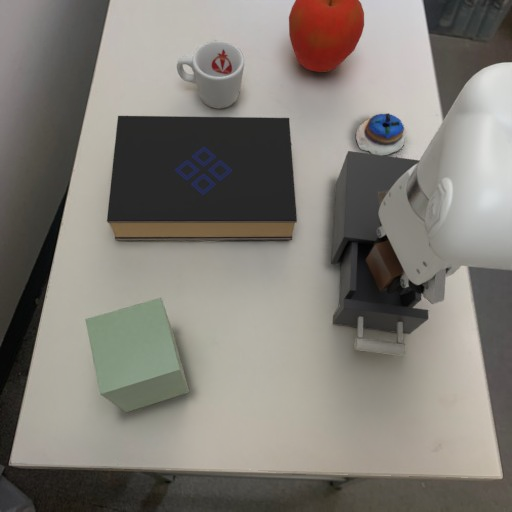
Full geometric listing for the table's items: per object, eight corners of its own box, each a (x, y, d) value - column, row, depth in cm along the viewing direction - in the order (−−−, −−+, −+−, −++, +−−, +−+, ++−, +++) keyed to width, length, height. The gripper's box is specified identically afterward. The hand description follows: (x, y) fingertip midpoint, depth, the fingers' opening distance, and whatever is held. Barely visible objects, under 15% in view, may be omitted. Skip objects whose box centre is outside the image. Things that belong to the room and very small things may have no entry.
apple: (292, 31, 90) (303, -44, 77) (356, 46, 89) (378, -27, 76) (275, 79, 84) (284, 8, 72) (343, 97, 84) (364, 27, 71)
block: (412, 281, 61) (426, 267, 57) (379, 291, 60) (391, 277, 56) (397, 250, 62) (409, 234, 58) (365, 259, 62) (375, 243, 58)
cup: (172, 105, 81) (167, 68, 74) (186, 70, 84) (182, 31, 77) (236, 119, 80) (237, 83, 73) (247, 83, 84) (249, 45, 76)
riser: (189, 392, 62) (180, 369, 49) (126, 412, 61) (100, 394, 48) (173, 333, 65) (161, 297, 52) (113, 351, 64) (85, 318, 51)
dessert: (402, 115, 82) (412, 111, 76) (399, 155, 83) (409, 155, 77) (354, 115, 82) (360, 111, 76) (352, 155, 83) (358, 155, 77)
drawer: (409, 365, 64) (429, 353, 58) (330, 355, 64) (342, 341, 58) (408, 250, 71) (425, 228, 65) (337, 241, 71) (347, 218, 65)
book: (126, 143, 77) (117, 115, 71) (284, 145, 79) (289, 117, 73) (116, 243, 70) (106, 220, 64) (291, 242, 72) (297, 220, 66)
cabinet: (410, 274, 71) (433, 248, 63) (330, 263, 71) (343, 236, 63) (409, 194, 76) (430, 161, 68) (335, 184, 76) (348, 150, 68)
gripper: (534, 261, 42) (447, 324, 58) (443, 111, 48) (388, 206, 65) (457, 285, 41) (390, 342, 57) (375, 127, 47) (335, 220, 64)
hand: (389, 269), depth 61 cm, fingers closed on block, 4 cm apart
